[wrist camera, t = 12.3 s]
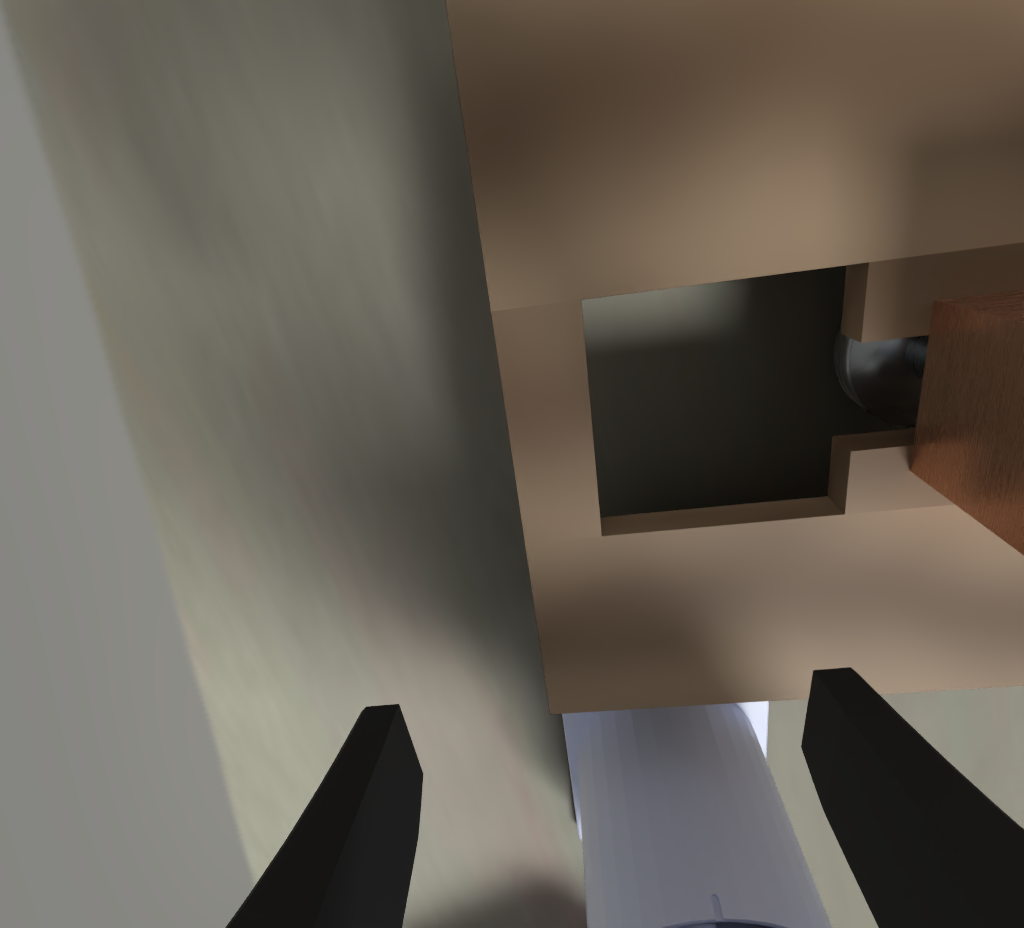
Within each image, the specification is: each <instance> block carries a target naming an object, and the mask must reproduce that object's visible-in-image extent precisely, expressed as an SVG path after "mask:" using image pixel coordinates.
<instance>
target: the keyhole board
mask: <svg viewBox="0 0 1024 928" xmlns="http://www.w3.org/2000/svg"><path fill="white" fill-rule="evenodd" d="M445 2H446V8H447V15H448V22H449V29H450V36H451V43H452V49H453V56H454V63H455V70H456V77H457V83H458V90H459V97H460V104H461V111H462V118H463V124H464V131H465V138H466V145H467V152H468V158H469V165H470V172H471V179H472V186H473V193H474V199H475V206H476V213H477V220H478V227H479V233H480V240H481V247H482V254H483V261H484V268H485V274H486V281H487V288H488V295H489V302H490V308H491V315H492V322H493V329H494V336H495V343H496V349H497V356H498V363H499V370H500V377H501V383H502V390H503V397H504V404H505V411H506V417H507V424H508V431H509V438H510V445H511V452H512V458H513V465H514V472H515V479H516V486H517V492H518V499H519V506H520V513H521V520H522V527H523V533H524V540H525V547H526V554H527V561H528V567H529V574H530V581H531V588H532V595H533V602H534V608H535V615H536V622H537V629H538V636H539V642H540V649H541V656H542V663H543V670H544V677H545V683H546V690H547V697H548V704H549V711H550V714H565V713H581V712H597V711H614V710H630V709H647V708H663V707H680V706H696V705H713V704H729V703H745V702H762V701H778V700H795V699H809V694H810V688H811V681H812V675H813V670H822V669H834V668H846V667H851V668H852V669H854V670H855V671H856V672H857V673H858V674H859V675H860V676H861V677H862V678H863V679H864V680H865V681H866V682H867V683H868V684H869V685H870V686H871V687H872V688H873V689H874V690H875V691H876V692H877V693H878V694H893V693H910V692H926V691H943V690H959V689H975V688H992V687H1008V686H1024V555H1022V554H1021V553H1020V552H1018V551H1017V550H1016V549H1014V548H1013V547H1012V546H1010V545H1009V544H1008V543H1006V542H1005V541H1003V540H1002V539H1001V538H999V537H998V536H997V535H995V534H994V533H993V532H991V531H990V530H989V529H987V528H986V527H985V526H983V525H982V524H981V523H979V522H978V521H977V520H975V519H974V518H973V517H971V516H970V515H968V514H967V513H966V512H964V511H963V510H962V509H960V508H959V507H958V506H956V505H955V504H954V503H952V502H951V501H950V500H948V499H947V498H946V497H944V496H943V495H942V494H940V493H939V492H938V491H936V490H935V489H933V488H932V487H931V486H929V485H928V484H927V483H925V482H924V481H923V480H921V479H920V478H919V477H917V476H916V475H915V474H913V473H912V472H911V471H910V466H911V459H912V452H913V445H914V438H915V431H916V428H909V429H899V430H889V431H879V432H870V433H860V434H850V435H840V436H832V448H831V460H830V473H829V485H828V496H825V497H814V498H803V499H793V500H782V501H771V502H761V503H750V504H739V505H728V506H718V507H707V508H696V509H685V510H675V511H664V512H653V513H643V514H632V515H621V516H610V517H600V510H599V498H598V487H597V476H596V464H595V453H594V441H593V430H592V418H591V407H590V396H589V384H588V373H587V361H586V350H585V338H584V327H583V315H582V304H581V300H583V299H591V298H599V297H606V296H614V295H622V294H630V293H637V292H645V291H653V290H660V289H668V288H676V287H683V286H691V285H699V284H706V283H714V282H722V281H729V280H737V279H745V278H753V277H760V276H768V275H776V274H783V273H791V272H799V271H806V270H814V269H822V268H829V267H837V266H845V265H846V277H845V289H844V301H843V314H842V326H841V334H843V335H845V336H847V337H849V338H852V339H854V340H856V341H858V342H860V343H865V342H874V341H882V340H891V339H899V338H908V337H916V336H925V335H929V332H930V325H931V318H932V311H933V304H934V300H942V299H951V298H959V297H967V296H976V295H984V294H992V293H1001V292H1009V291H1017V290H1024V0H445Z"/></svg>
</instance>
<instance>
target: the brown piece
mask: <svg viewBox="0 0 1024 928" xmlns="http://www.w3.org/2000/svg"><path fill="white" fill-rule="evenodd" d="M841 326H842V323H841ZM841 326H840V328H839V330H838V334H837V337H836V341H835V347H834V365H835V371H836V375H837V378H838V380H839V383H840V385H841V387H842V388H843V390H844V391H845V392H846V394H847V395H848V396H849V397H850V398H851V399H852V400H853V401H854V402H856V403H857V404H858V405H860V406H861V407H863V408H864V409H866V410H867V411H869V412H871V413H872V414H874V415H875V416H877V417H879V418H880V419H882V420H884V421H887V422H889V423H892V424H896V425H901V426H909V427H916V431H915V438H914V445H913V452H912V459H911V466H910V471H911V472H912V473H913V474H915V475H916V476H917V477H919V478H920V479H921V480H923V481H924V482H925V483H927V484H928V485H929V486H931V487H932V488H933V489H935V490H936V491H938V492H939V493H940V494H942V495H943V496H944V497H946V498H947V499H948V500H950V501H951V502H952V503H954V504H955V505H956V506H958V507H959V508H960V509H962V510H963V511H964V512H966V513H967V514H968V515H970V516H971V517H973V518H974V519H975V520H977V521H978V522H979V523H981V524H982V525H983V526H985V527H986V528H987V529H989V530H990V531H991V532H993V533H994V534H995V535H997V536H998V537H999V538H1001V539H1002V540H1003V541H1005V542H1006V543H1008V544H1009V545H1010V546H1012V547H1013V548H1014V549H1016V550H1017V551H1018V552H1020V553H1021V554H1022V555H1024V290H1017V291H1009V292H1001V293H992V294H984V295H976V296H967V297H959V298H951V299H942V300H934V304H933V311H932V318H931V325H930V332H929V335H925V336H916V337H908V338H899V339H891V340H882V341H874V342H865V343H860V342H858V341H856V340H854V339H852V338H849V337H847V336H845V335H843V334H841Z"/></svg>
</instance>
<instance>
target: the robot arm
mask: <svg viewBox="0 0 1024 928" xmlns="http://www.w3.org/2000/svg"><path fill="white" fill-rule="evenodd" d="M768 713H769V701H762V702H745V703H729V704H713V705H696V706H680V707H663V708H647V709H630V710H614V711H597V712H581V713H565V714H562V717H563V725H564V732H565V739H566V747H567V754H568V761H569V769H570V776H571V783H572V791H573V798H574V805H575V813H576V820H577V827H578V835H579V838H580V840H582V845H583V863H584V880H585V898H586V915H587V928H832V926H831V923H830V921H829V918H828V916H827V913H826V911H825V908H824V906H823V903H822V900H821V898H820V895H819V893H818V890H817V888H816V885H815V883H814V880H813V878H812V875H811V873H810V870H809V867H808V865H807V862H806V860H805V857H804V855H803V852H802V850H801V847H800V845H799V842H798V840H797V837H796V835H795V832H794V829H793V827H792V824H791V822H790V819H789V817H788V814H787V812H786V809H785V807H784V804H783V802H782V799H781V796H780V794H779V791H778V789H777V786H776V784H775V781H774V779H773V776H772V774H771V771H770V769H769V766H768V763H767V761H766V757H767V735H768ZM801 747H802V750H803V753H804V756H805V759H806V762H807V765H808V768H809V771H810V774H811V777H812V780H813V783H814V785H815V788H816V791H817V794H818V796H819V799H820V802H821V805H822V807H823V810H824V812H825V815H826V817H827V819H828V821H829V823H830V825H831V828H832V830H833V832H834V834H835V836H836V838H837V840H838V842H839V845H840V847H841V849H842V851H843V853H844V855H845V857H846V860H847V862H848V864H849V866H850V868H851V870H852V872H853V874H854V876H855V879H856V881H857V883H858V885H859V887H860V889H861V891H862V893H863V895H864V897H865V900H866V902H867V904H868V906H869V908H870V910H871V912H872V914H873V916H874V918H875V921H876V923H877V925H878V927H879V928H1024V829H1023V828H1022V827H1020V826H1019V825H1018V824H1017V823H1016V822H1015V821H1013V820H1012V819H1011V818H1010V817H1009V816H1008V815H1007V814H1006V813H1004V812H1003V811H1002V810H1001V809H1000V808H999V807H998V806H996V805H995V804H994V803H993V802H992V801H991V800H990V799H989V798H988V797H986V796H985V795H984V794H983V793H982V792H981V791H980V790H979V789H978V788H977V787H976V786H974V785H973V784H972V783H971V782H970V781H969V780H968V779H967V778H966V777H965V776H964V775H962V774H961V773H960V772H959V771H958V770H957V769H956V768H955V767H954V766H953V765H952V764H950V763H949V762H948V761H947V760H946V759H945V758H944V757H943V756H942V755H941V754H940V753H939V752H938V751H937V750H936V749H934V748H933V747H932V746H931V745H930V744H929V743H928V742H927V741H926V740H925V739H924V738H923V737H922V736H921V735H920V734H919V733H918V732H917V731H916V730H915V729H914V728H913V727H912V726H911V725H910V724H909V723H908V722H906V721H905V720H904V719H903V718H902V717H901V716H900V715H899V714H898V713H897V712H896V711H895V710H894V709H893V708H892V707H891V706H890V705H889V704H888V703H887V702H886V701H885V700H884V699H883V698H882V697H881V696H880V695H879V694H878V693H877V692H876V691H875V690H874V689H873V688H872V687H871V686H870V685H869V684H868V683H867V682H866V681H865V680H864V679H863V678H862V677H861V676H860V675H859V674H858V673H857V672H856V671H855V670H854V669H852V668H851V667H846V668H834V669H822V670H813V675H812V681H811V688H810V694H809V701H808V707H807V713H806V720H805V726H804V733H803V739H802V745H801ZM422 783H423V772H422V769H421V766H420V763H419V760H418V758H417V755H416V752H415V749H414V746H413V743H412V740H411V737H410V734H409V732H408V729H407V726H406V723H405V720H404V717H403V714H402V711H401V708H400V706H399V704H394V705H382V706H370V707H366V708H365V709H364V710H363V711H362V712H361V714H360V716H359V717H358V719H357V721H356V723H355V725H354V726H353V728H352V730H351V732H350V734H349V735H348V737H347V739H346V741H345V743H344V744H343V746H342V748H341V750H340V752H339V753H338V755H337V757H336V758H335V760H334V762H333V764H332V765H331V767H330V769H329V771H328V772H327V774H326V776H325V777H324V779H323V781H322V782H321V784H320V786H319V788H318V789H317V791H316V792H315V794H314V796H313V797H312V799H311V801H310V802H309V804H308V805H307V807H306V809H305V810H304V812H303V813H302V815H301V817H300V818H299V820H298V822H297V823H296V825H295V826H294V828H293V830H292V831H291V833H290V834H289V836H288V837H287V839H286V841H285V842H284V844H283V845H282V847H281V848H280V850H279V851H278V853H277V854H276V856H275V857H274V859H273V860H272V862H271V863H270V864H269V866H268V867H267V869H266V870H265V872H264V873H263V875H262V876H261V878H260V879H259V881H258V882H257V884H256V885H255V887H254V888H253V890H252V891H251V893H250V894H249V896H248V897H247V898H246V900H245V901H244V903H243V904H242V905H241V907H240V908H239V910H238V911H237V912H236V914H235V915H234V917H233V918H232V919H231V921H230V922H229V924H228V925H227V926H226V928H402V924H403V918H404V913H405V908H406V902H407V897H408V891H409V886H410V880H411V875H412V869H413V864H414V858H415V852H416V847H417V841H418V834H419V822H420V811H421V798H422Z"/></svg>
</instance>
